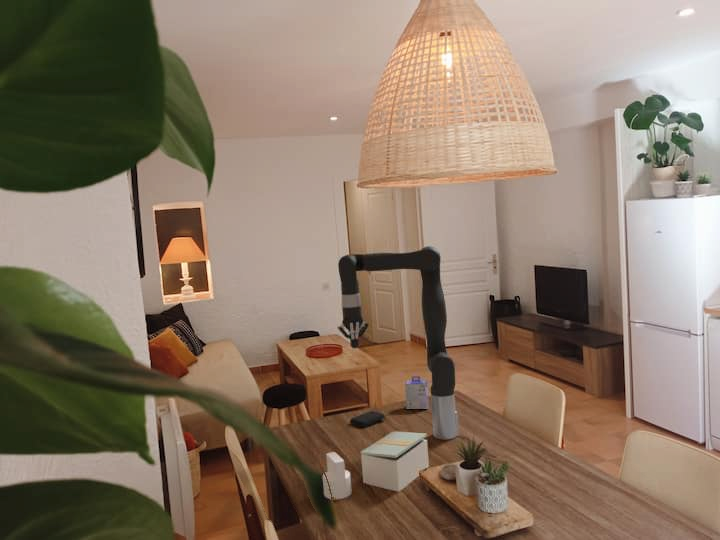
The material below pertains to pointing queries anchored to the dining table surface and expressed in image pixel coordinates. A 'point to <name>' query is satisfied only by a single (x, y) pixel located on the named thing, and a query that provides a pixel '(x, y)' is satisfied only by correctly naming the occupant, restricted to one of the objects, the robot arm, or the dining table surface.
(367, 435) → the dining table surface
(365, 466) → the storage box
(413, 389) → the ink cartridge box
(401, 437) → the lid
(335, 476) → the cylinder with rectangular tab
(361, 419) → the carrying case or bag
